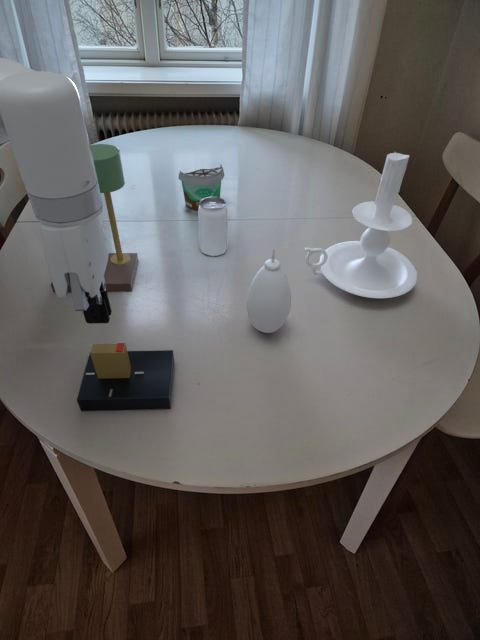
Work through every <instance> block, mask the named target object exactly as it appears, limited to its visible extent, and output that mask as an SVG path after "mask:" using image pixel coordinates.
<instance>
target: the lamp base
mask: <svg viewBox="0 0 480 640" xmlns="http://www.w3.org/2000/svg"><path fill="white" fill-rule="evenodd" d="M124 253H125V254H128V255H129V256H130V262H129V263H128V264H126V265H124V266H115V265H113V264H112V263H111V257H112V256H113V255H115V254H116V252H108V262H107V266H106V269H105V273H104V279H105V284H106V290H105V291H103V292H107V293H123V292H124V293H125V292H126V293H129V292H133V288H134V283H135V279H136V274H137V270H138V264H139V256H138V253H137V252H124ZM50 286H51V289H52V292H53V293H56V292H55V289H54V286H53V282H52V281H51V282H50ZM68 293H72V291H71V286H70V288H69V290H68Z"/></svg>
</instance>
